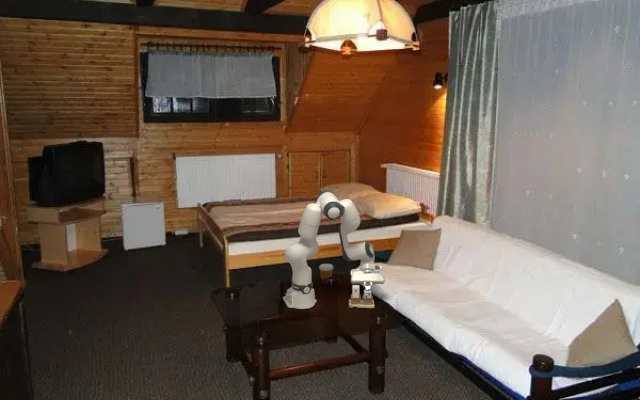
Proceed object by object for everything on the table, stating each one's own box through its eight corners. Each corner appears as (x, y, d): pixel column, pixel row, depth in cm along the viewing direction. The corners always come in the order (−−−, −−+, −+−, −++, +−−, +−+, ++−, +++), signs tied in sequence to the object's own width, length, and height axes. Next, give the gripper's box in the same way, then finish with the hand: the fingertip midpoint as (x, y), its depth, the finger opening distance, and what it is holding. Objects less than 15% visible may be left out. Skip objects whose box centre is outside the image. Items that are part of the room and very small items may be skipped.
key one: (352, 296, 320) (352, 285, 319) (359, 297, 320) (359, 285, 318) (352, 299, 316) (352, 287, 315) (359, 299, 316) (359, 287, 314)
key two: (363, 301, 320) (364, 289, 319) (370, 301, 320) (370, 289, 319) (364, 304, 316) (364, 292, 315) (370, 304, 316) (371, 292, 315)
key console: (349, 301, 324) (349, 293, 322) (373, 301, 323) (373, 293, 322) (349, 307, 315) (349, 299, 314) (374, 307, 314) (374, 299, 313)
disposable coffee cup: (320, 280, 360) (320, 263, 357) (334, 280, 359) (334, 263, 356) (318, 285, 351) (318, 267, 348) (332, 285, 349) (332, 268, 347)
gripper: (350, 266, 322) (350, 287, 314) (384, 266, 321) (385, 288, 313) (350, 271, 327) (350, 291, 320) (383, 271, 326) (384, 292, 319)
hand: (367, 289), depth 317 cm, fingers closed, pressing on key two
